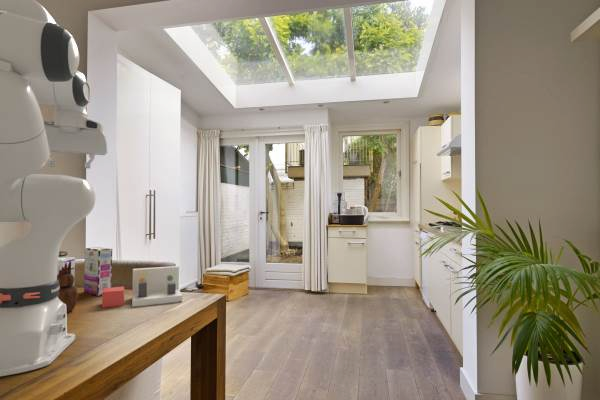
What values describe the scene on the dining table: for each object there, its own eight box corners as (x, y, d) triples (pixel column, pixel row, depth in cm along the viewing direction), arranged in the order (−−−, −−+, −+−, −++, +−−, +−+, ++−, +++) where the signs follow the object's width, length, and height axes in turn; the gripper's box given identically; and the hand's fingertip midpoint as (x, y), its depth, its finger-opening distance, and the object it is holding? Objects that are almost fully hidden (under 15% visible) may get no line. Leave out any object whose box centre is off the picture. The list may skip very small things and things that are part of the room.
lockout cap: (123, 305, 109) (123, 290, 110) (102, 307, 107) (102, 292, 107) (124, 300, 115) (124, 286, 115) (103, 302, 112) (103, 288, 112)
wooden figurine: (72, 307, 107) (73, 259, 107) (80, 310, 104) (81, 261, 104) (46, 312, 101) (47, 262, 102) (54, 316, 98) (55, 264, 98)
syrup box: (75, 299, 116) (76, 256, 117) (61, 304, 110) (62, 259, 111) (59, 298, 117) (60, 256, 117) (45, 303, 111) (46, 258, 111)
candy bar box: (112, 293, 124) (113, 248, 124) (97, 296, 120) (98, 249, 120) (97, 289, 130) (98, 246, 131) (83, 291, 126) (84, 247, 127)
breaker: (146, 298, 113) (146, 282, 113) (138, 298, 112) (138, 283, 112) (146, 296, 115) (146, 281, 115) (138, 297, 114) (138, 282, 114)
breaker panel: (182, 301, 114) (182, 271, 115) (132, 306, 108) (132, 275, 108) (177, 293, 125) (178, 265, 125) (132, 297, 119) (132, 268, 119)
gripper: (26, 116, 100) (25, 164, 99) (107, 124, 109) (106, 168, 108) (32, 121, 105) (31, 166, 105) (108, 129, 114) (107, 170, 114)
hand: (69, 167), depth 107 cm, fingers open, 8 cm apart
